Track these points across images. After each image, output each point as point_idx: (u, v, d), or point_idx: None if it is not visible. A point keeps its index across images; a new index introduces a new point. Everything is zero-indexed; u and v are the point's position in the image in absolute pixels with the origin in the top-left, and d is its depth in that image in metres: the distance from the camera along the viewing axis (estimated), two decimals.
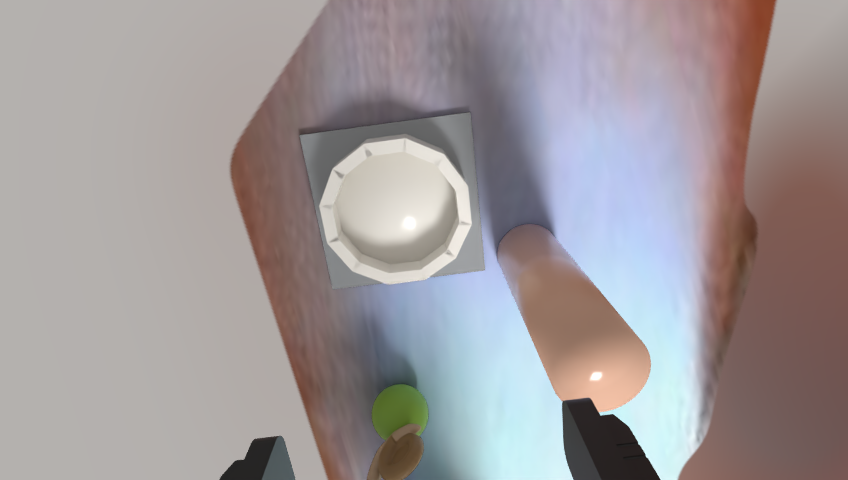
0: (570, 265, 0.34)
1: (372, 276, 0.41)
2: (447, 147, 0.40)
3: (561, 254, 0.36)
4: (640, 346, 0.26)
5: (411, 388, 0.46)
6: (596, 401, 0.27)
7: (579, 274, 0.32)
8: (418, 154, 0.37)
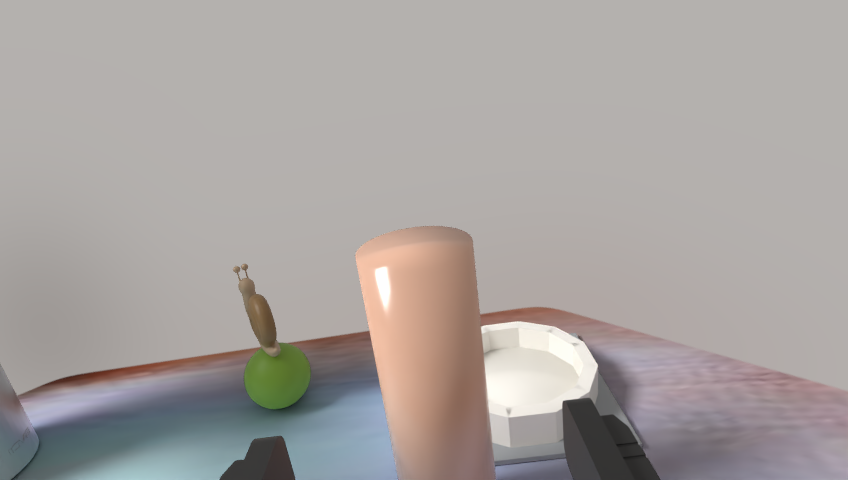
0: (486, 407, 0.24)
1: None
2: None
3: (489, 440, 0.25)
4: (444, 260, 0.20)
5: (301, 389, 0.40)
6: (372, 250, 0.23)
7: (482, 387, 0.24)
8: (583, 373, 0.35)
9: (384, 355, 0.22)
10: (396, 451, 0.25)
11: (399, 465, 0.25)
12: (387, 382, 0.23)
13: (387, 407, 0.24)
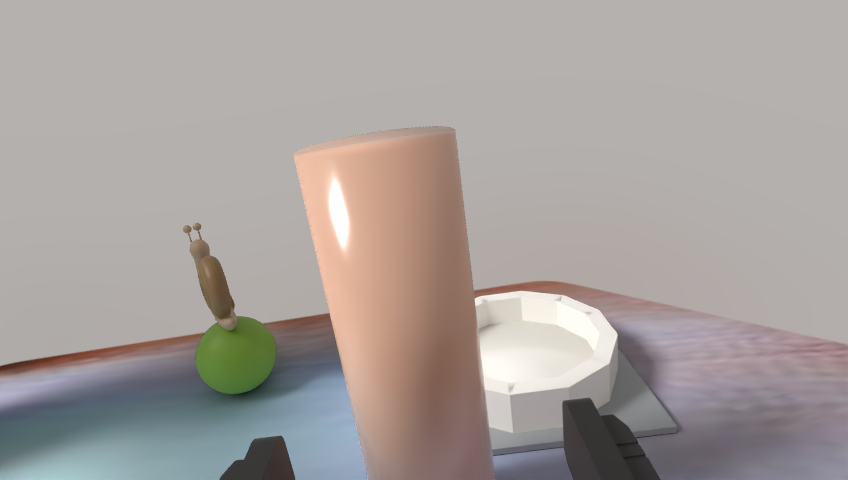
0: (478, 368, 0.18)
1: None
2: (613, 405, 0.28)
3: (483, 413, 0.19)
4: (413, 144, 0.14)
5: (263, 369, 0.33)
6: (318, 148, 0.17)
7: (472, 338, 0.17)
8: (600, 343, 0.29)
9: (334, 290, 0.16)
10: (359, 429, 0.19)
11: (364, 449, 0.19)
12: (341, 330, 0.17)
13: (344, 367, 0.18)
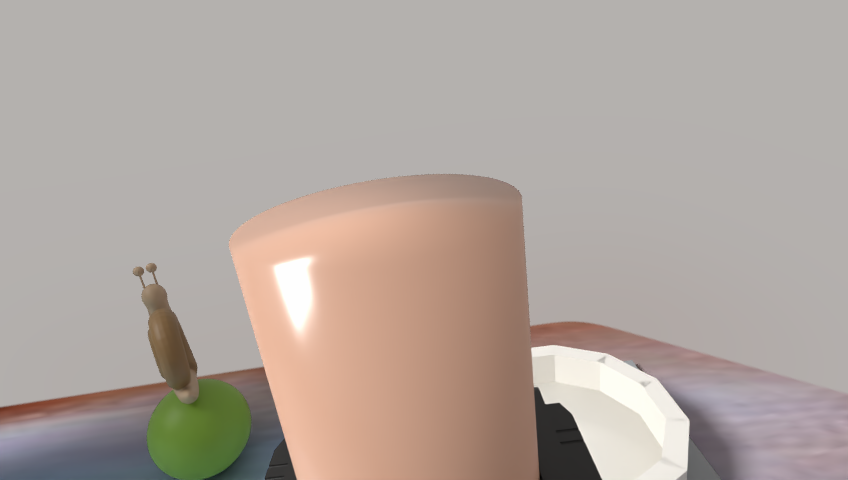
0: None
1: None
2: None
3: None
4: (453, 237, 0.07)
5: (233, 450, 0.26)
6: (279, 220, 0.10)
7: None
8: (669, 435, 0.22)
9: (304, 475, 0.09)
10: None
11: None
12: None
13: None
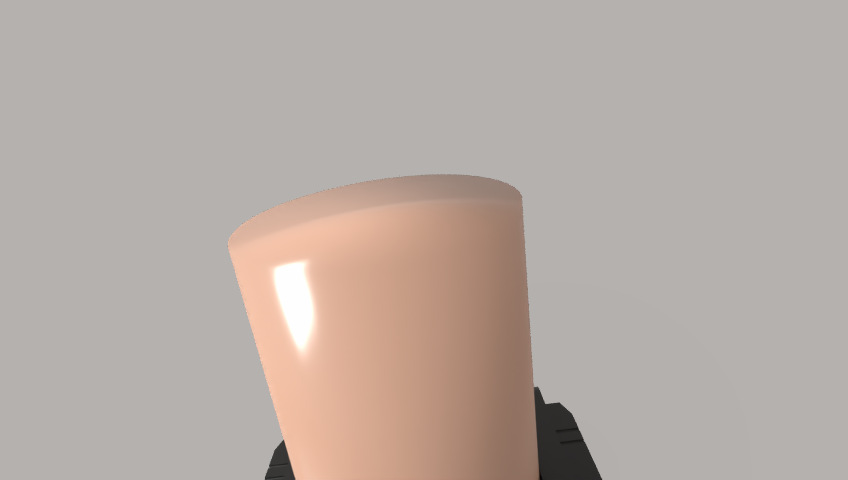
0: None
1: None
2: None
3: None
4: (453, 238, 0.07)
5: None
6: (278, 220, 0.10)
7: None
8: None
9: (303, 477, 0.09)
10: None
11: None
12: None
13: None
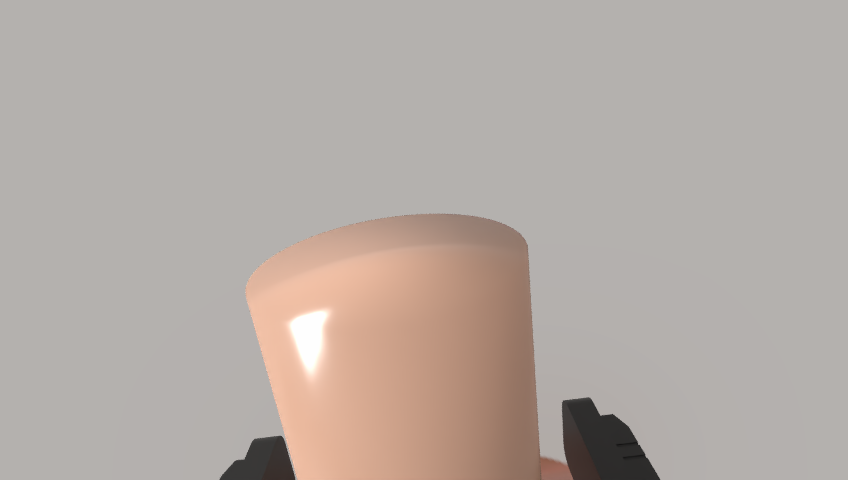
0: None
1: None
2: None
3: None
4: (463, 295, 0.08)
5: None
6: (292, 265, 0.10)
7: None
8: None
9: None
10: None
11: None
12: None
13: None
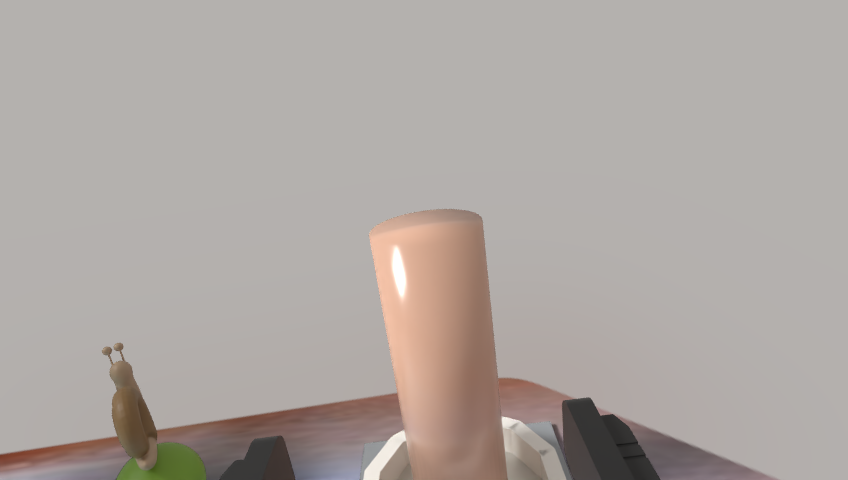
0: (496, 385, 0.25)
1: (380, 454, 0.31)
2: None
3: (499, 418, 0.26)
4: (456, 236, 0.21)
5: None
6: (385, 230, 0.23)
7: (492, 364, 0.24)
8: None
9: (397, 331, 0.23)
10: (408, 429, 0.25)
11: (411, 444, 0.26)
12: (400, 359, 0.23)
13: (399, 385, 0.24)
